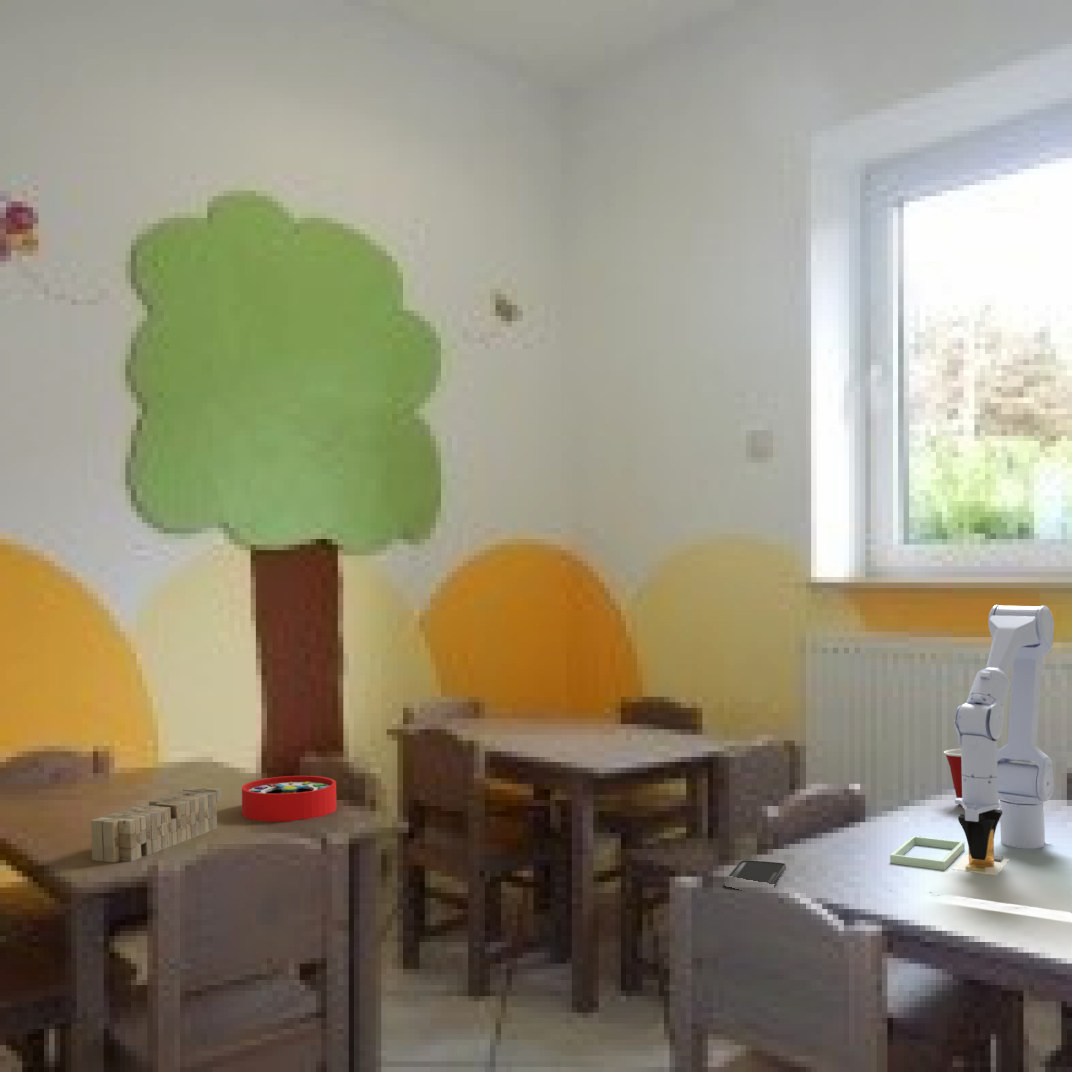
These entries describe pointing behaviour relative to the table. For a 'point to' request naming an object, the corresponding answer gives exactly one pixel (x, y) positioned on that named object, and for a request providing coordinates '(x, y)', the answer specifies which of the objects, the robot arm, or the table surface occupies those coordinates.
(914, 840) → the pale green rectangular frame
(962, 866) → the cream rectangular pad
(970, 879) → the table surface
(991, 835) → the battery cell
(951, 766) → the plastic cup
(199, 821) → the block tower
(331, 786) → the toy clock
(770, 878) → the phone
